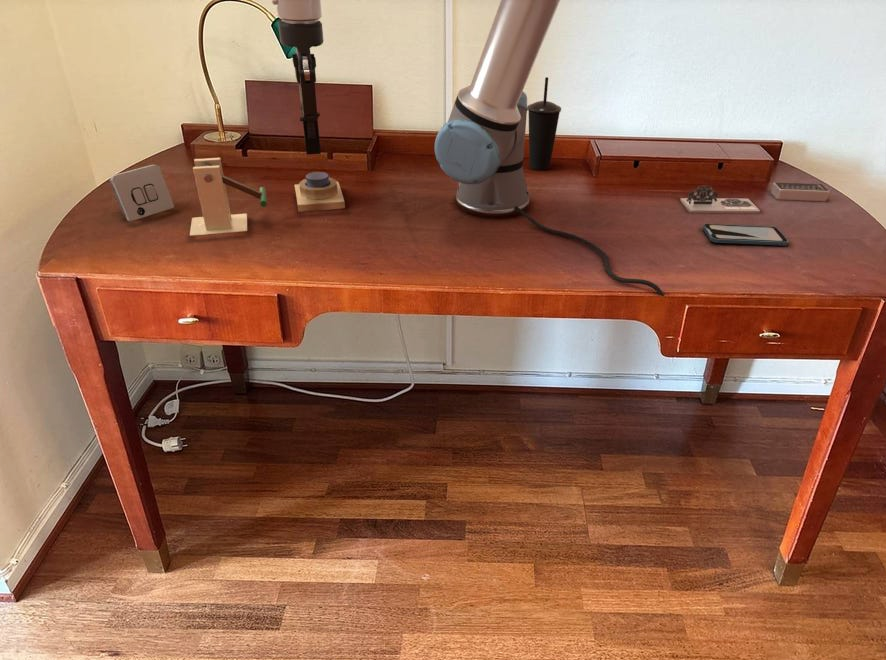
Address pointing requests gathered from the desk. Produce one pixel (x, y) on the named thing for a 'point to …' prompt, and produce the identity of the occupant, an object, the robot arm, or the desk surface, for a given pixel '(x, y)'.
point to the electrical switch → (141, 192)
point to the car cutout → (716, 202)
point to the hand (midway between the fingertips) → (313, 152)
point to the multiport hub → (800, 191)
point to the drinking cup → (542, 131)
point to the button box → (319, 196)
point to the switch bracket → (214, 202)
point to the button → (317, 179)
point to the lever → (245, 188)
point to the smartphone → (745, 234)
